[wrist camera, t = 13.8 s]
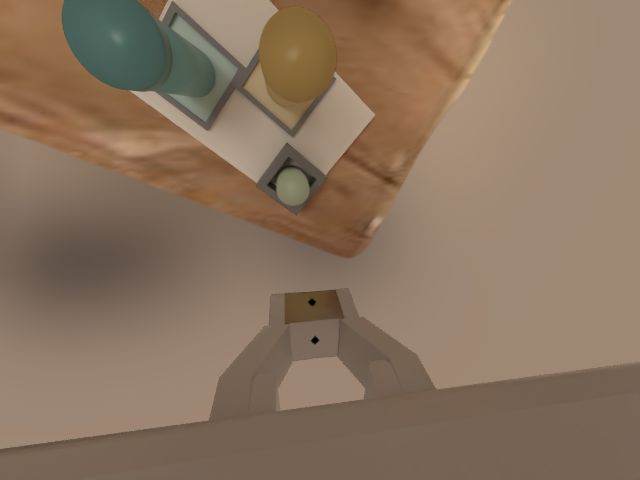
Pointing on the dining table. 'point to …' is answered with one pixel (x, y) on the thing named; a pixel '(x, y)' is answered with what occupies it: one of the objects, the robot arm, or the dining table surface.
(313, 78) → the knob
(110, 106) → the dining table surface
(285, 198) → the button
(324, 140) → the white flat board
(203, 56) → the teal marker
